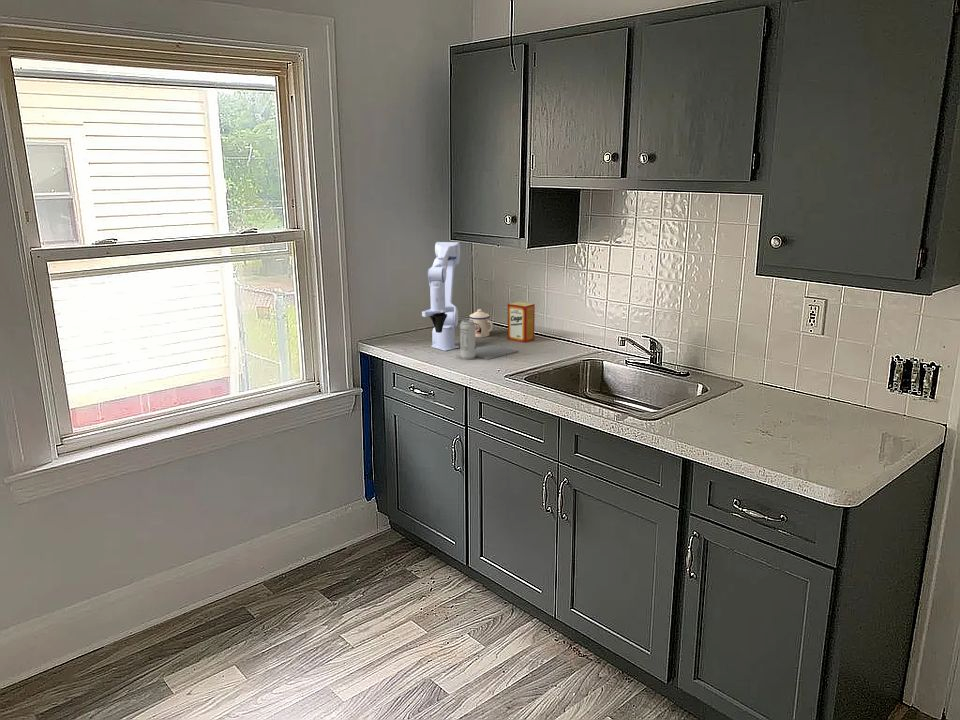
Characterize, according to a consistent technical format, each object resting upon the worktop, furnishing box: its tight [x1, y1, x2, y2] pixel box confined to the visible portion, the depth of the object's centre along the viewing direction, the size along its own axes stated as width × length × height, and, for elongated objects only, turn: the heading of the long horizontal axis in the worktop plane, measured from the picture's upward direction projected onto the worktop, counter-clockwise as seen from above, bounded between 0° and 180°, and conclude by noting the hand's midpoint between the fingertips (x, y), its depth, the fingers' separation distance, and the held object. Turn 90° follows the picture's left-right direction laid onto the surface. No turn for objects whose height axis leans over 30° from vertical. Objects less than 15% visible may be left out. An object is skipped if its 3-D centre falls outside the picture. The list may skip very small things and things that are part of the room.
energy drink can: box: [459, 318, 476, 361], centre depth 290 cm, size 6×6×15 cm
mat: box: [475, 344, 519, 361], centre depth 300 cm, size 15×17×1 cm
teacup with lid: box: [468, 308, 494, 338], centre depth 326 cm, size 12×9×12 cm
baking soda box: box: [507, 301, 536, 344], centre depth 318 cm, size 10×6×16 cm
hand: (438, 332), depth 290 cm, fingers closed
